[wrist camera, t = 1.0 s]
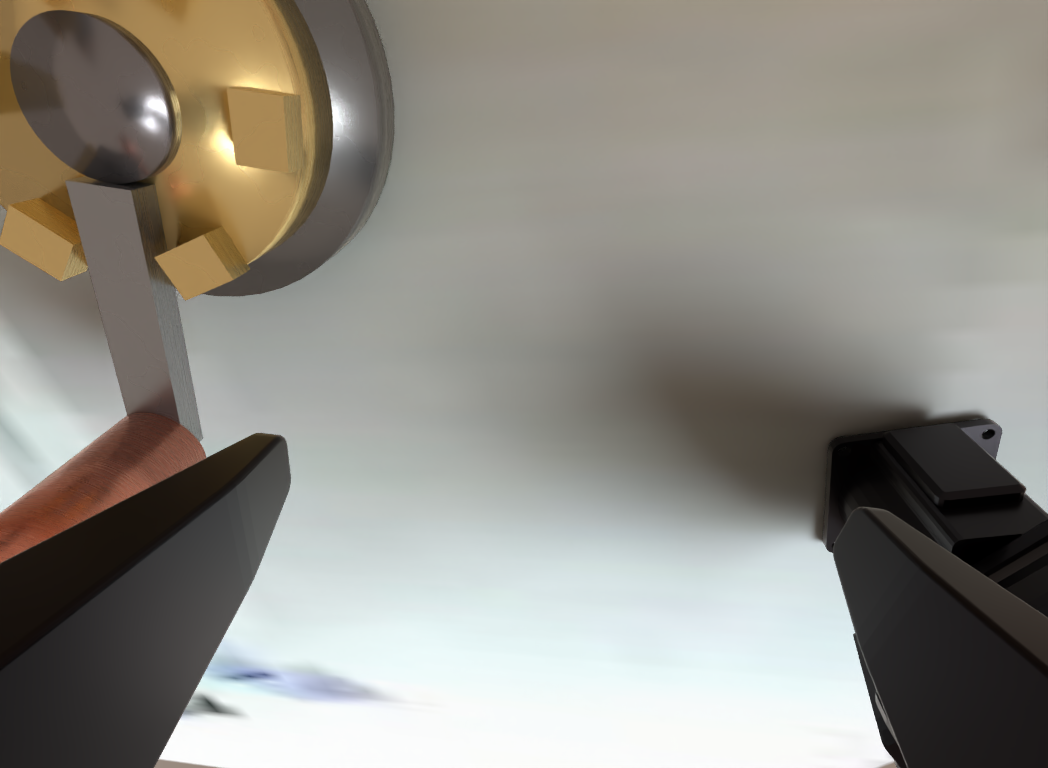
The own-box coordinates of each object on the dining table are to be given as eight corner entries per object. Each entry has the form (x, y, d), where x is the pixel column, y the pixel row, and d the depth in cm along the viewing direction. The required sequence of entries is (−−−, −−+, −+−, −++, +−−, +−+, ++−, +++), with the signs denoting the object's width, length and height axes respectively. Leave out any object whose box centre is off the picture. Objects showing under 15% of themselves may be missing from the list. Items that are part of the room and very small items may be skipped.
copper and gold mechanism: (-72, -155, 14) (-2070, -876, 3) (330, -92, 14) (-399, -601, 4) (96, 412, 23) (-322, 712, 12) (346, 451, 23) (150, 782, 12)
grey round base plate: (440, 245, 21) (428, 260, 19) (144, 304, 23) (110, 323, 21) (304, -228, 15) (269, -268, 13) (-80, -87, 17) (-155, -106, 15)
